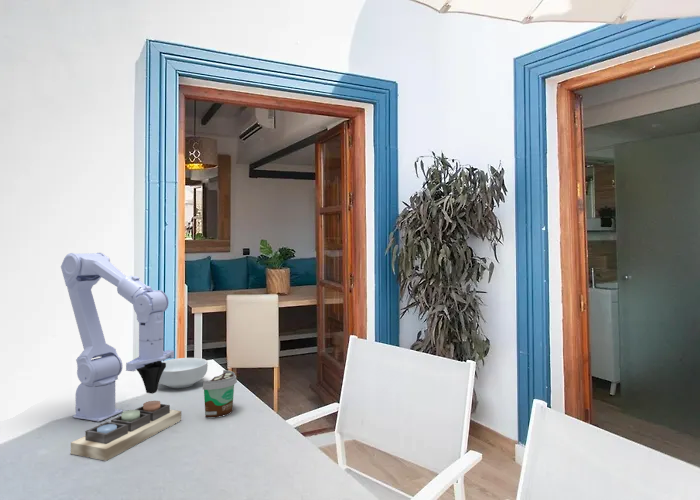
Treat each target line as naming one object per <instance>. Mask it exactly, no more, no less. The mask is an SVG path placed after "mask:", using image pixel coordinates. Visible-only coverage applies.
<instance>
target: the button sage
mask: <svg viewBox="0 0 700 500" xmlns="http://www.w3.org/2000/svg"><path fill="white" fill-rule="evenodd" d="M121 415H122V421H128V422H132V421H134V420H136V419H139V418H140V411H139V410H135V409H127V410H124V411H123V412H121Z"/></svg>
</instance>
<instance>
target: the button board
mask: <svg viewBox="0 0 700 500" xmlns="http://www.w3.org/2000/svg"><path fill="white" fill-rule="evenodd" d="M134 410H139V411H140V418H139V419H136V420H134V421H132V422H128V421H122V414H121V415H120V416H117V417H115V418H112V419H110V421H106V422H103V423H101V424H98V425H96V426H93V427H92V428H89V429H87V430H85V431H84V432H85V433H84V434H85V436H83V437H80V438H78V439H75V440H73V441H71V442H70V455H76V456H80V457H84V456H85V458H89V457H90V458H91V459H95V460H100V461H104V462H106V461H108V460H110V459H113V458H114V457H116V456H118V455H120V454H121V453H123V452H125V451H127V450H129V449H131V448H133V447H134V446H137V445H138V443H139V444H141V443H142V442H144V441H146V440H148V439H150V438H151V436H152V437H153V435H154V436H155V435H157V434H159V433H161V432H163V431H165V430H167V429H169V428H170V427H173V426H174V425H176V424H178V423H180V422H181V421H182V410H175V409H174V410H173V409H171V406H170V404H163V403H160V409H158V410H156V411H154V412H150V411H143V405H141V406H140V407H138V408H135V409H134ZM180 420H181V421H180ZM179 421H180V422H179ZM177 422H178V423H177ZM175 423H176V424H175ZM107 424H115V425H117V429H115V430H113V431H111V432H109V433H101V432H97V428H98V427H100V426H103V425H107ZM169 426H170V427H169ZM168 427H169V428H168ZM166 428H167V429H166ZM164 429H165V430H164ZM162 430H163V431H162ZM160 431H161V432H160ZM158 432H159V433H158ZM149 437H150V438H149ZM147 438H148V439H147ZM145 439H146V440H145ZM136 444H137V445H136ZM90 458H89V459H90Z"/></svg>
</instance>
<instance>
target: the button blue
mask: <svg viewBox="0 0 700 500" xmlns="http://www.w3.org/2000/svg"><path fill="white" fill-rule="evenodd" d="M115 429H117V425H115V424H107V425H103V426H100V427H98V428H97V432H101V433H109V432H111V431H113V430H115Z"/></svg>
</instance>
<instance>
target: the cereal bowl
mask: <svg viewBox="0 0 700 500" xmlns="http://www.w3.org/2000/svg"><path fill="white" fill-rule="evenodd" d="M161 362H162V363H166V367H165V369H164V371H163V373H162V375H161V377H160V380H159V384H160V385H162V386H167V387H168V388H171V389H184V388H189V387H192V386H194V385H195V383H197V382H199V381H201V380H202V379H204V377H205V376H206V374H207V372H208V366H209V365H208V361H207V360H206V359H205V358H202V357H201V358H200V357H179V358H170V359H166V360H163V361H161Z"/></svg>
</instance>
